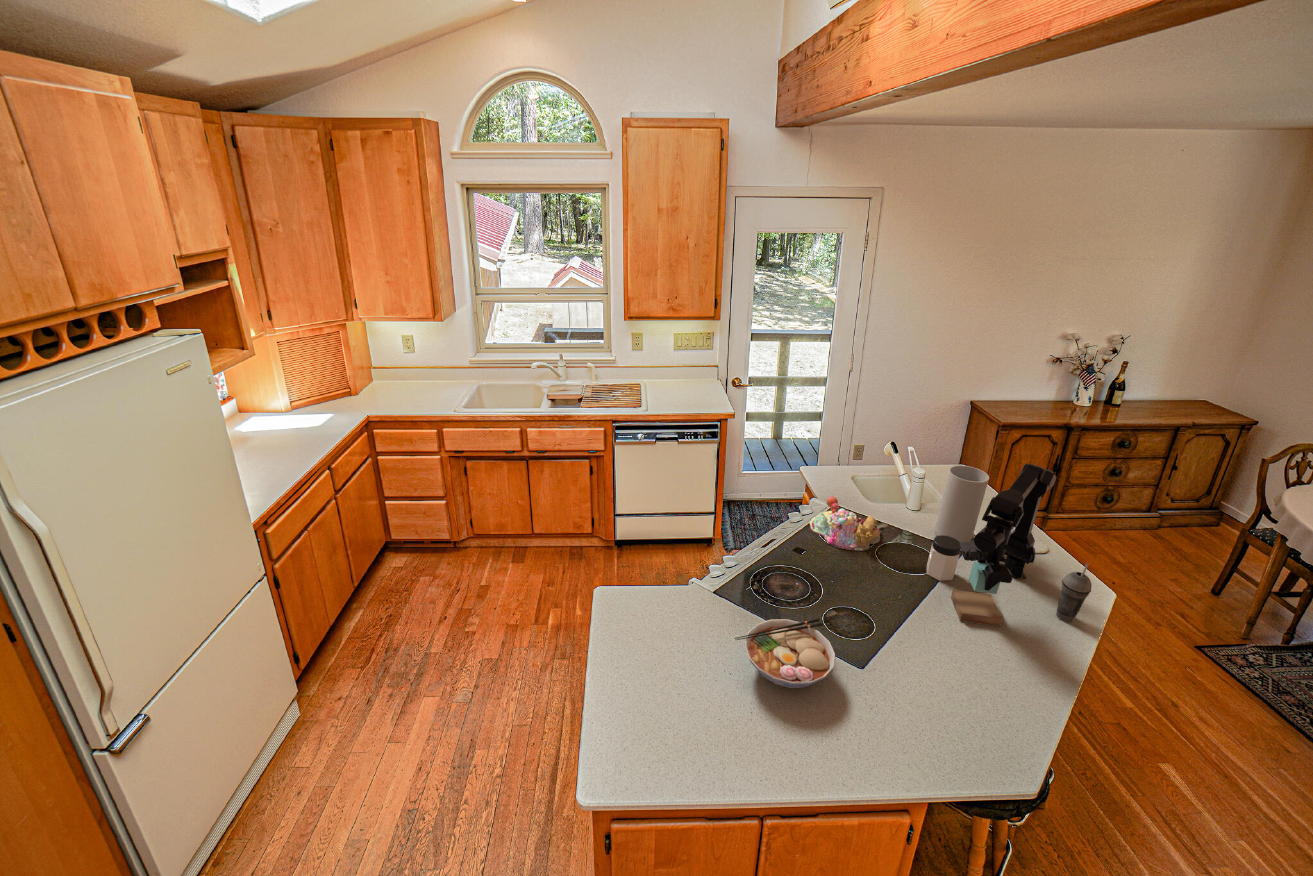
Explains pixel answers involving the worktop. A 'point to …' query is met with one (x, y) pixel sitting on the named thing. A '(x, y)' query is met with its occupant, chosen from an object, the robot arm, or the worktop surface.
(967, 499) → the cylinder vase
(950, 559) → the jar
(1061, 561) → the worktop surface
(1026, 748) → the worktop surface
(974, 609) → the walnut base
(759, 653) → the ramen bowl
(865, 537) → the pastel sphere sculpture
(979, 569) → the teal block
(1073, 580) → the beverage cup
